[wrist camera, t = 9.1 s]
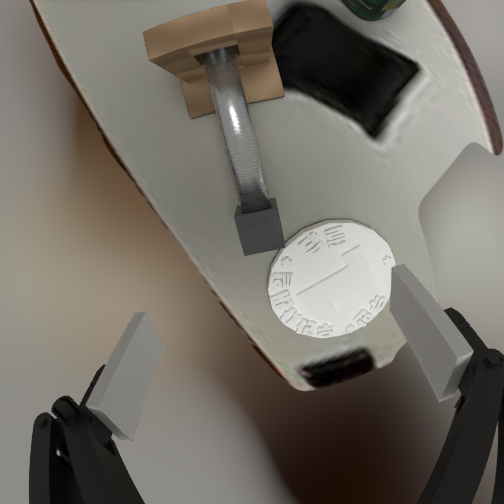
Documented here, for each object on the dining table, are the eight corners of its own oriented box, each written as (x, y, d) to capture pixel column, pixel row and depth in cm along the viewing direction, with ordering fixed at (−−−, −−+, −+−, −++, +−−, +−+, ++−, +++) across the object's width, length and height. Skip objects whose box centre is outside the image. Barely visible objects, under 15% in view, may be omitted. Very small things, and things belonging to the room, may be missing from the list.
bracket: (170, 29, 27) (123, -14, 13) (258, 6, 26) (257, -53, 12) (192, 118, 33) (148, 112, 19) (284, 96, 31) (300, 73, 18)
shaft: (198, 52, 22) (189, 41, 19) (237, 42, 22) (233, 29, 18) (246, 240, 31) (244, 255, 27) (282, 232, 30) (285, 247, 27)
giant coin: (388, 314, 45) (394, 324, 42) (281, 339, 47) (282, 350, 44) (387, 205, 37) (396, 211, 34) (255, 232, 39) (255, 240, 37)
